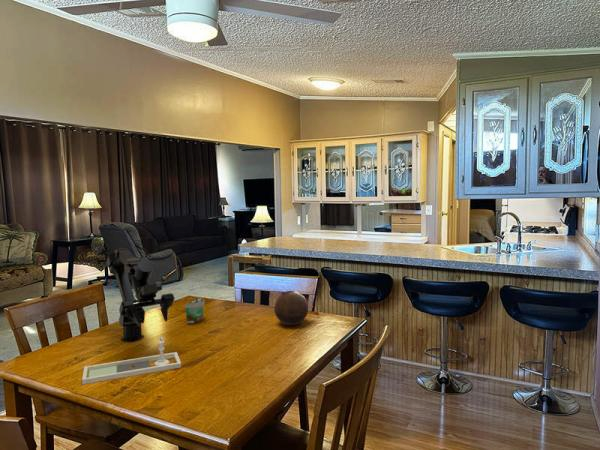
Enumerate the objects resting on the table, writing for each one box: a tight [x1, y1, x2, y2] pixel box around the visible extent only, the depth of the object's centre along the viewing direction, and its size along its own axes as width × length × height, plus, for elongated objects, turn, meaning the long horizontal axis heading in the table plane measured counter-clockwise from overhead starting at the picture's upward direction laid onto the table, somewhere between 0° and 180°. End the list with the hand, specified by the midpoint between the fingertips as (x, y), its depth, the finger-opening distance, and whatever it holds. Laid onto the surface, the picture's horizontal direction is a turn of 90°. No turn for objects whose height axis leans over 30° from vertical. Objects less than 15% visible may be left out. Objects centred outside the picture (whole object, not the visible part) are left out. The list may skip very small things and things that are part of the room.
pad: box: [88, 366, 117, 378], centre depth 140 cm, size 8×9×1 cm
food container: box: [184, 296, 206, 326], centre depth 194 cm, size 12×6×10 cm, turn 168°
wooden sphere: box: [273, 290, 309, 326], centre depth 189 cm, size 15×15×15 cm
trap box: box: [81, 351, 182, 385], centre depth 143 cm, size 30×11×2 cm, turn 114°
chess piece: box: [153, 335, 170, 367], centre depth 147 cm, size 5×5×10 cm
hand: (153, 323), depth 151 cm, fingers open, 9 cm apart
